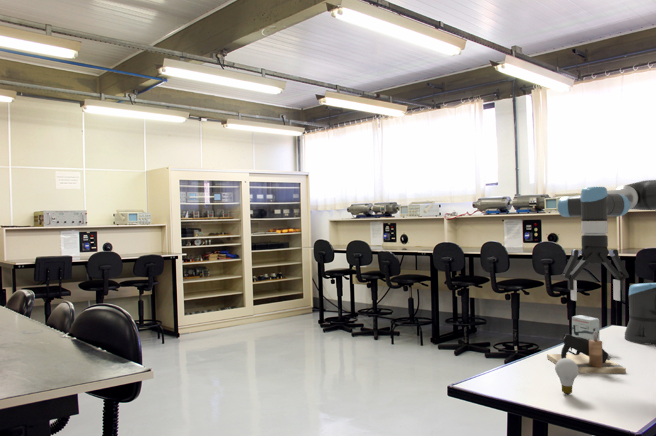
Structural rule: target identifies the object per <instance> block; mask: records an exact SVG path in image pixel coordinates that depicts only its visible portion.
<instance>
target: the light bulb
mask: <svg viewBox="0 0 656 436" xmlns="http://www.w3.org/2000/svg"><path fill="white" fill-rule="evenodd" d="M554 370H555V373H556V375H557V376H558V378H559V381H560V384H561V385H560V386H561V392H562V393H563V394H564V395H567V396H568V395H571V394H572V393H573V385H574V383H575V379H576V378H577V377H578V375H579V373H578V366H577V364H576V363H575V362H574V361H573V360H571V359H568V358H563V359H560V360H559V361H558V362H557V363H556V364H555V365H554Z"/></svg>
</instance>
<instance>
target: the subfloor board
mask: <svg viewBox="0 0 656 436" xmlns="http://www.w3.org/2000/svg"><path fill="white" fill-rule="evenodd" d="M546 354H547V355H546V358H547V360H549V361H550V362H552V363H553V364H555V365H556V363H557V362H558V361H559V360H560V359H562V358H561V353H546ZM566 354H567V355H566V358H568V359H571V360H573V361H574V362H575V363H576V364H577V366H578V374H580V373H581V374H585V373H586V374H627V368H626V367H624V366H623V365H620V364H618V363H617V362H615V361H613V360H611V359H610V360H606V362H605V363H602V365H603V367H600V368H597V367H591V366H589V356H587V355H585V354H583V353H580V354H579V355H574V354H572V353H566Z"/></svg>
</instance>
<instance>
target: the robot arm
mask: <svg viewBox="0 0 656 436" xmlns="http://www.w3.org/2000/svg"><path fill="white" fill-rule="evenodd" d="M630 210H637V211H638V210H640V211H656V179H647V180H646V179H645V180H640V181H637V182H633V183H629V184H625V185H621V186H618V187H617V188H615V189H611V190H608V189H607V188H606V187H605V186H587V187H584V188H582V189H581V191H580V194H579V195H568V196H562V197H560V198H559V200H558V201H557V212H558V214H559V215H560V216H561V217H564V218H580V217H581V219H580V220H581V222H580V223H581V224H580V225H581V227H580V228H581V229H580V230H581V234H582V236H581V238H580V239H581V249H580V250H578V249H575V248H574V249H571V253H570V257H569V260H568V262H567V263H566V265H565V267H564V270H563V272H562V273H561V277H562V278H564V279H566V280H567V289H568V290H569V291H570V300H571V301H573V302H574V301H575V302H577V300H578V292H577V291H578V288H577V285H578V284H577V279H576V278H577V276H578V275H579V274H580V273H581V272H582V271H583V269H584V268H585V267H586V266H587V265H588V264H602V265H604V267H605V268H606V269H607V270H608V271H609V273H611V275H612V276H613V277H614V278H615V279H612V284H613V286H612V287H613V288H612V290H613V291H612V292H613V293H612V294H613V295H612V296H613V300H615V301H619V302H621V291H623V282H624V281H625V280H626V279H628V278H630V275H629V273H628V271H627V269H626V267H625V265H624V264H623V262H622V260H621V258H620V255H619V250H618V249H614V248H613V249H612V248H611V249H608V245H609V243H608V241H609V240H608V239H609V237H608V235H607V234H608V231H609V230H608V217H613V218H618V217H622V216H625V215H626V214H627V213H629V211H630ZM580 256H582V257H581V259H580V260H579V262H578V263H577V261H578V258H579V257H580ZM608 256H610V257H611V260H612V261H613V264H614V265H615V266H614V265H613V264H612V263H611V261H610V260H609V258H607V257H608ZM576 263H577V265H576ZM575 265H576V266H575ZM574 266H575V267H574ZM575 279H576V280H575ZM628 307H629V308H628V310H629V314H628V315H629V321H628V323H627V326H626V328H625V331H624V339H625V340H626V341H628V342H629V341H630V342H632V343H637V344H643V345H644V344H645V345H654V346H655V345H656V282H647V283H646V282H645V283H644V282H643V283H634V284H631V285H630V286H629V289H628Z"/></svg>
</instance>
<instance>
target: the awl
mask: <svg viewBox="0 0 656 436" xmlns="http://www.w3.org/2000/svg"><path fill="white" fill-rule="evenodd" d="M602 348H603V341H602V340H597V332H596V331H594V340H589V366H591V367H597V368H600V367H603V365H602Z"/></svg>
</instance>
